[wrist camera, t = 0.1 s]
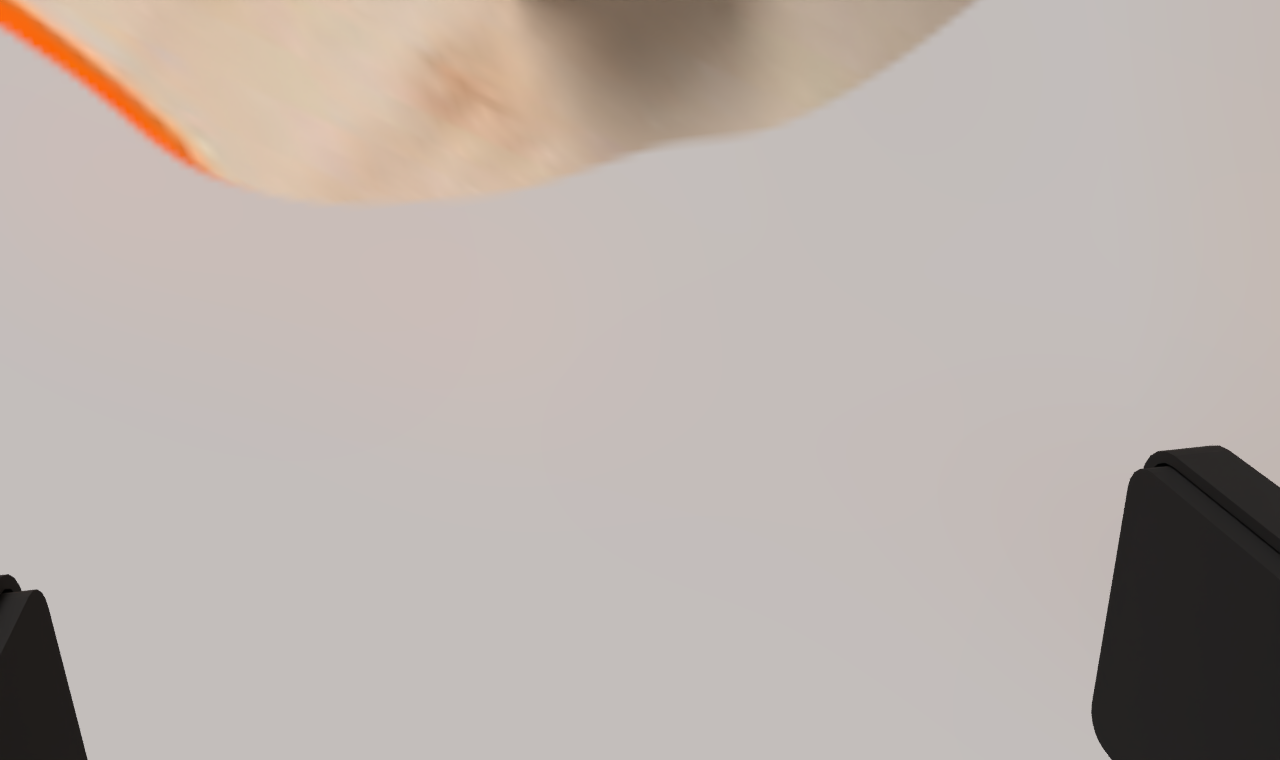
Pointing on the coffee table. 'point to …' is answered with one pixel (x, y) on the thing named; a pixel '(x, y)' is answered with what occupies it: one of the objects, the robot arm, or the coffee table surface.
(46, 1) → the coffee table surface
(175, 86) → the coffee table surface
